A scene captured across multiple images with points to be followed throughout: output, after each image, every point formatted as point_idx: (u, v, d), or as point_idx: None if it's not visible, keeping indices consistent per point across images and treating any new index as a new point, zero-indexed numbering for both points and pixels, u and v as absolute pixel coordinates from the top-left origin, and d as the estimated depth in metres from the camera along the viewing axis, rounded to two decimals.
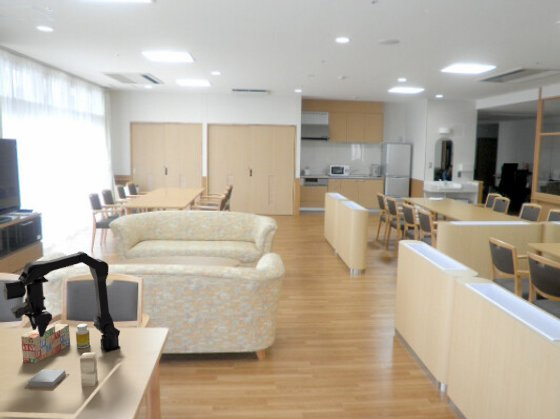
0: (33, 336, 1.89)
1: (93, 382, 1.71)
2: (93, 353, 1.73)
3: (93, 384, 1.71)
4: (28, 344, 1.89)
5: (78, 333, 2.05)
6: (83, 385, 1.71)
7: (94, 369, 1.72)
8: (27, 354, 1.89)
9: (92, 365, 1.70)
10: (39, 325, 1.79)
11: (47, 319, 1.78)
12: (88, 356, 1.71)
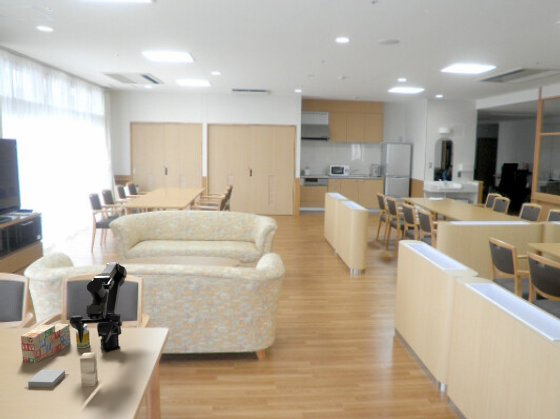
0: (32, 336, 1.89)
1: (93, 382, 1.71)
2: (93, 353, 1.73)
3: (93, 384, 1.71)
4: (28, 344, 1.89)
5: None
6: (83, 385, 1.71)
7: (94, 369, 1.72)
8: (26, 353, 1.90)
9: (92, 365, 1.70)
10: None
11: (121, 322, 1.86)
12: (88, 356, 1.71)
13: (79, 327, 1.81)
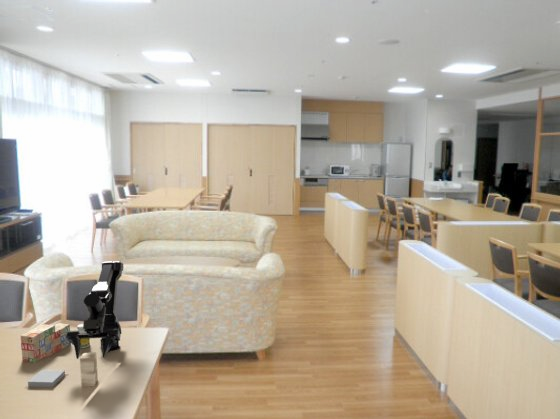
0: (32, 335, 1.89)
1: (93, 382, 1.71)
2: (93, 353, 1.73)
3: (93, 384, 1.71)
4: (27, 343, 1.89)
5: None
6: (83, 385, 1.71)
7: (94, 369, 1.72)
8: (26, 353, 1.90)
9: (92, 365, 1.70)
10: None
11: (119, 337, 1.82)
12: (88, 356, 1.71)
13: (76, 342, 1.76)
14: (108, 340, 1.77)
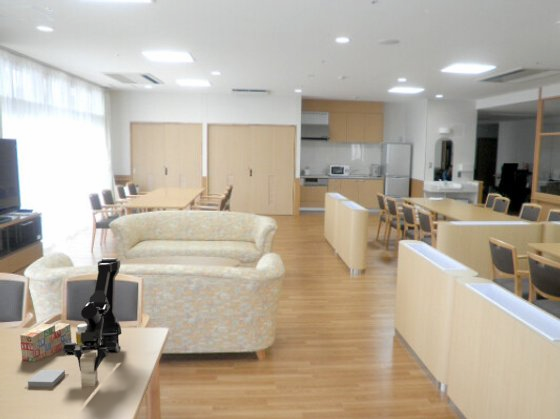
0: (31, 335, 1.90)
1: (93, 382, 1.71)
2: (93, 353, 1.73)
3: (93, 384, 1.71)
4: (27, 343, 1.90)
5: (78, 333, 2.05)
6: (83, 385, 1.71)
7: None
8: (25, 353, 1.91)
9: (92, 365, 1.70)
10: None
11: (117, 349, 1.78)
12: (88, 356, 1.71)
13: (79, 355, 1.73)
14: (100, 353, 1.74)
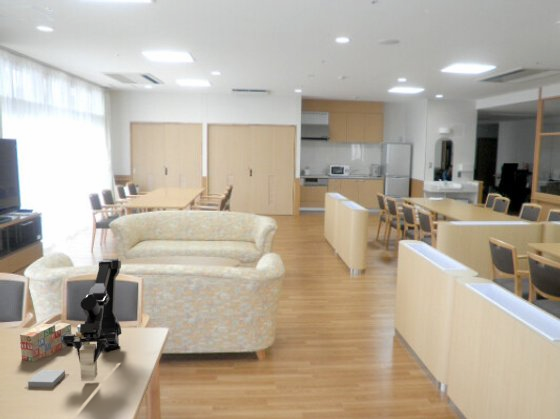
0: (31, 335, 1.90)
1: (93, 373, 1.71)
2: (93, 344, 1.73)
3: (93, 375, 1.71)
4: (26, 342, 1.90)
5: (78, 333, 2.05)
6: (83, 377, 1.70)
7: None
8: (25, 352, 1.91)
9: (92, 356, 1.70)
10: None
11: (117, 341, 1.78)
12: (87, 347, 1.70)
13: (79, 346, 1.72)
14: (99, 344, 1.73)
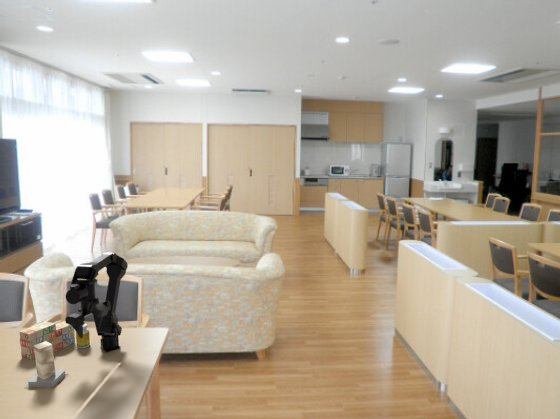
0: (29, 332, 1.92)
1: (42, 373, 1.71)
2: (48, 344, 1.73)
3: (42, 375, 1.71)
4: (25, 340, 1.93)
5: None
6: (37, 372, 1.74)
7: (44, 360, 1.71)
8: (24, 349, 1.94)
9: (40, 356, 1.70)
10: None
11: None
12: (40, 346, 1.71)
13: (82, 326, 1.82)
14: (103, 315, 1.93)
